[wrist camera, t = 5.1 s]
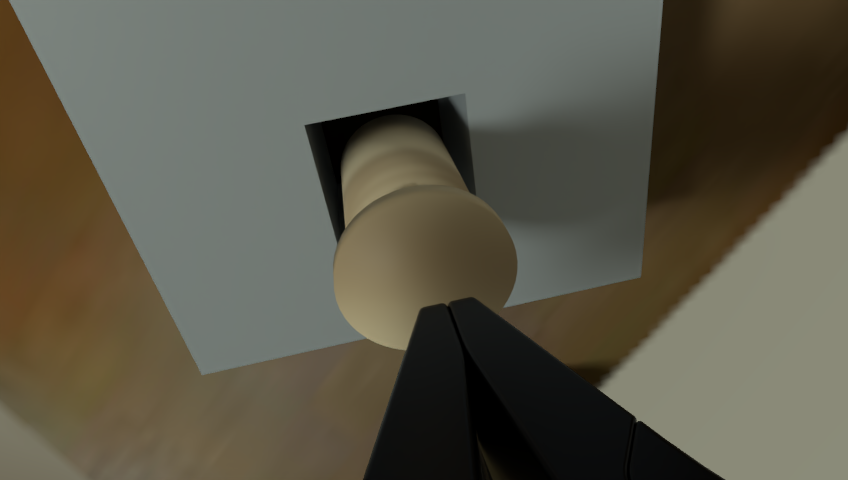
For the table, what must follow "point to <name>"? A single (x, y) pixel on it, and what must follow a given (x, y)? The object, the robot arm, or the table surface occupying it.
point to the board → (308, 153)
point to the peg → (413, 232)
